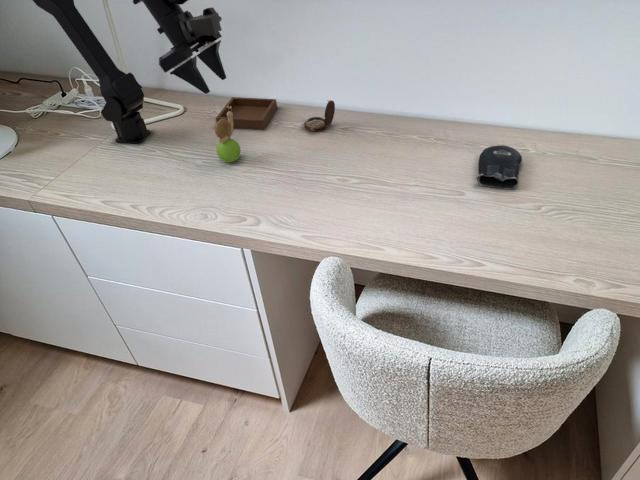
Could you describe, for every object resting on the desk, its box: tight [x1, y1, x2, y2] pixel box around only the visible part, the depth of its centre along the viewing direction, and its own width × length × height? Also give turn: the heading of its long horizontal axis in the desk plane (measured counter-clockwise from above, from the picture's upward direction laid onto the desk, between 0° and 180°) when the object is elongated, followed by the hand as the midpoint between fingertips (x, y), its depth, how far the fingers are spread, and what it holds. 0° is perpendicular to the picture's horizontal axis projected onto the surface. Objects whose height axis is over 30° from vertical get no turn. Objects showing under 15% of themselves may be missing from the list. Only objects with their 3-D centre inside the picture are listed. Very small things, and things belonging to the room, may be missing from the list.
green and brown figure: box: [214, 106, 242, 163], centre depth 113 cm, size 5×6×12 cm
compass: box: [304, 99, 336, 133], centre depth 125 cm, size 8×8×7 cm
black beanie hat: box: [475, 144, 523, 190], centre depth 110 cm, size 9×6×15 cm
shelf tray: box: [215, 96, 278, 131], centre depth 131 cm, size 13×13×3 cm
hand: (216, 85), depth 107 cm, fingers open, 9 cm apart
